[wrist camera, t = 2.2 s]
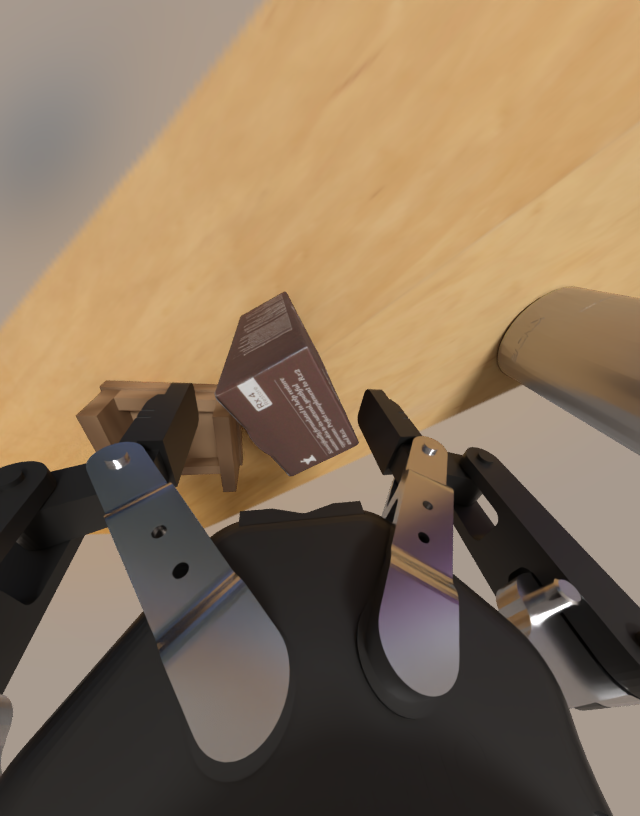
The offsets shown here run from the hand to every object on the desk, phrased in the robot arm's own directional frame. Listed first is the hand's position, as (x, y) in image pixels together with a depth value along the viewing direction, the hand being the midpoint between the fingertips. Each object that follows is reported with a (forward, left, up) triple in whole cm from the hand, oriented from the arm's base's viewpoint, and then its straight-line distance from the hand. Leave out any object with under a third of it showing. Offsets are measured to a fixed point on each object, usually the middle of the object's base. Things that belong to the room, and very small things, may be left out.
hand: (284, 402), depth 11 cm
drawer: (+9, +10, -10) cm, 17 cm away
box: (0, 0, -11) cm, 11 cm away
